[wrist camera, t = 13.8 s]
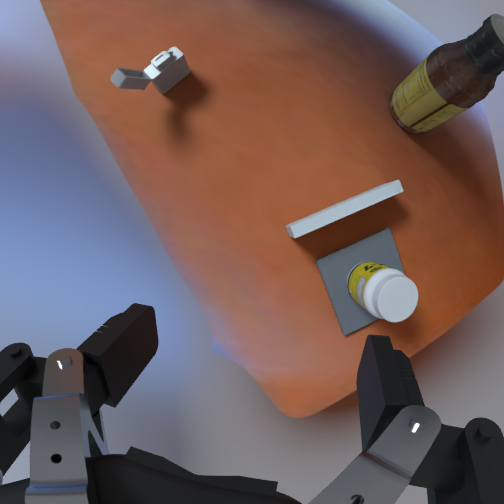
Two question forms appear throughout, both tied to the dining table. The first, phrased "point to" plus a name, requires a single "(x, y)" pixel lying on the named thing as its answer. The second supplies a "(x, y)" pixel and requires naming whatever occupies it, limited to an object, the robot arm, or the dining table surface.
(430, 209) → the dining table surface
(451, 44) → the sauce bottle
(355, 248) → the coaster
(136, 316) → the robot arm
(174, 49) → the lighter
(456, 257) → the dining table surface
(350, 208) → the wall
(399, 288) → the supplement bottle
